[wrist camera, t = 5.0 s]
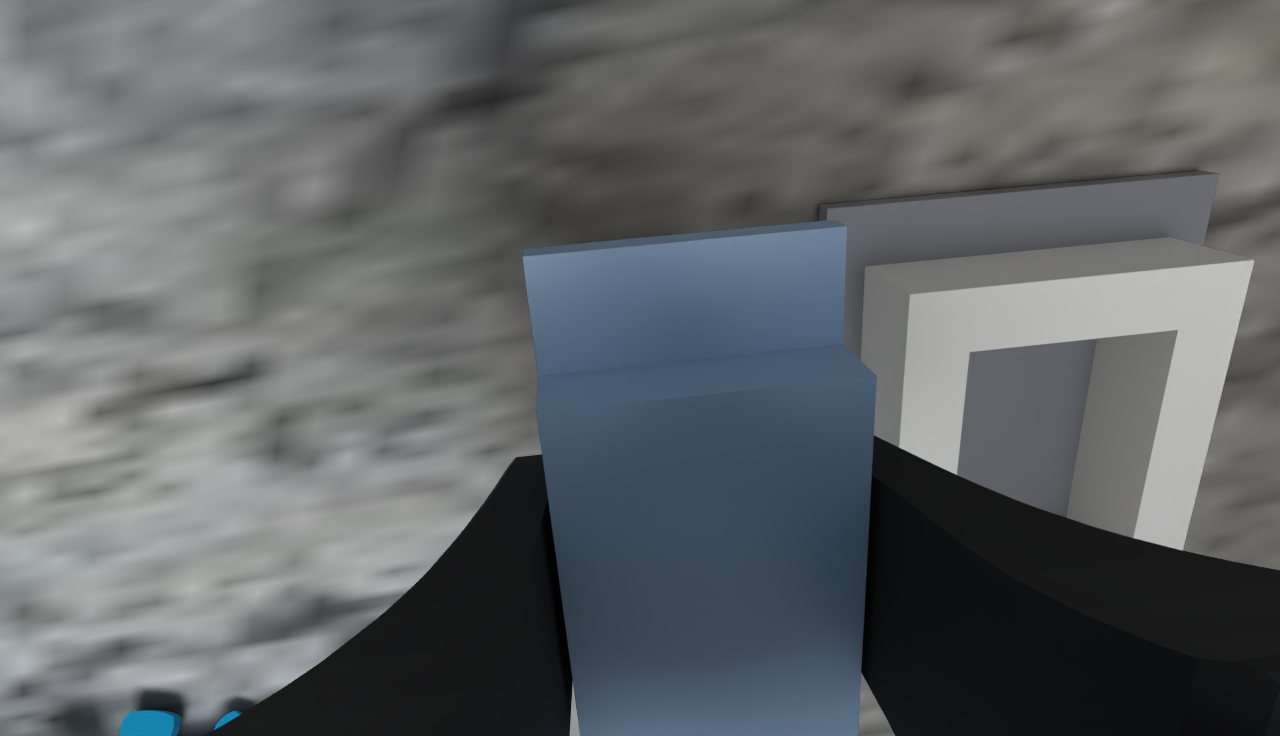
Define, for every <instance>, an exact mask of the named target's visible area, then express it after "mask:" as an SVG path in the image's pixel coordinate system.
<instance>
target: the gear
mask: <svg viewBox="0 0 1280 736" xmlns="http://www.w3.org/2000/svg"><path fill="white" fill-rule="evenodd" d="M242 713H243V712H241V711H239V710H236V711H232V712H230V713H228V714H227V715H225V716H224V717H222V718H221V720H220V721H219V722H218V723H217V724H216V726H215V728H214V730H215V729H217V728H219V727H220V726H222V725H224V724H226V723H227V722H229V721H231V720H232V719H234V718H236V717H237V716H239V715H241V714H242ZM180 727H181V716H180V715H178V714H176V713H173V712H169V711H164V710H140V711H131V712H130V713H129V714H128V715H127V716H126V717H125V719H124V721H123V722H122V725H121V728H120V736H177V734H178V733H179V730H180Z"/></svg>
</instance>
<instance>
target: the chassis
mask: <svg viewBox="0 0 1280 736" xmlns="http://www.w3.org/2000/svg"><path fill="white" fill-rule="evenodd" d="M1218 176H1219V174H1218V173H1212V172H1205V171H1190V172H1179V173H1168V174H1157V175H1146V176H1134V177H1123V178H1112V179H1101V180H1090V181H1079V182H1067V183H1056V184H1045V185H1034V186H1023V187H1012V188H1001V189H989V190H978V191H967V192H956V193H945V194H934V195H923V196H911V197H900V198H889V199H878V200H867V201H856V202H844V203H833V204H822V205H819V221H826V220H836V221H838V222H840V223H842V224H844V225H846V226H847V241H846V270H845V299H844V329H843V345H845V346H846V347H847V348H848V349H849V350H850V351H851V352H852V353H853V354H854V355H855V356H856V357H857V358H858V359H860V360H861V361H862V362H863V363H864V364H865V365H866V366H867V367H868V368H869V369H870V370H871V371H872V372H873V373H874V374H876V375H877V385H876V404H875V422H874V435H875V436H877V437H879V438H881V439H883V440H885V441H887V442H889V443H891V444H893V445H895V446H897V447H899V448H901V449H903V450H905V451H907V452H909V453H912V454H914V455H916V456H918V457H920V458H922V459H924V460H926V461H928V462H930V463H932V464H934V465H936V466H939V467H941V468H943V469H945V470H947V471H949V472H952V473H954V474H956V475H958V476H960V477H963V478H965V479H967V480H969V481H972V482H974V483H976V484H979V485H981V486H984V487H986V488H988V489H991V490H993V491H996V492H998V493H1000V494H1003V495H1005V496H1008V497H1010V498H1013V499H1015V500H1018V501H1020V502H1023V503H1026V504H1028V505H1031V506H1034V507H1036V508H1039V509H1042V510H1045V511H1048V512H1051V513H1054V514H1057V515H1060V516H1063V517H1066V518H1069V519H1072V520H1075V521H1078V522H1081V523H1084V524H1087V525H1090V526H1093V527H1096V528H1100V529H1103V530H1107V531H1110V532H1114V533H1117V534H1120V535H1124V536H1128V537H1132V538H1135V539H1139V540H1143V541H1147V542H1151V543H1155V544H1159V545H1163V546H1167V547H1170V548H1174V549H1178V550H1182V551H1183V548H1184V544H1185V539H1186V535H1187V531H1188V527H1189V523H1190V519H1191V515H1192V511H1193V507H1194V503H1195V499H1196V495H1197V491H1198V487H1199V483H1200V479H1201V475H1202V471H1203V467H1204V463H1205V459H1206V454H1207V450H1208V446H1209V442H1210V438H1211V434H1212V430H1213V426H1214V422H1215V418H1216V414H1217V410H1218V406H1219V402H1220V398H1221V394H1222V390H1223V386H1224V382H1225V378H1226V374H1227V369H1228V365H1229V361H1230V357H1231V353H1232V349H1233V345H1234V341H1235V337H1236V333H1237V329H1238V325H1239V321H1240V317H1241V313H1242V309H1243V305H1244V301H1245V297H1246V293H1247V289H1248V284H1249V280H1250V276H1251V272H1252V268H1253V264H1254V260H1253V259H1249V258H1245V257H1242V256H1238V255H1234V254H1230V253H1227V252H1223V251H1219V250H1215V249H1212V248H1208V247H1204V246H1203V245H1204V240H1205V235H1206V231H1207V226H1208V222H1209V217H1210V213H1211V208H1212V203H1213V199H1214V194H1215V190H1216V185H1217V181H1218Z"/></svg>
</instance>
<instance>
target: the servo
mask: <svg viewBox="0 0 1280 736" xmlns="http://www.w3.org/2000/svg"><path fill="white" fill-rule="evenodd" d="M846 241H847V226H846V225H844V224H842V223H840V222H838V221H836V220H826V221H815V222H804V223H793V224H783V225H772V226H761V227H750V228H740V229H729V230H718V231H708V232H697V233H686V234H675V235H665V236H654V237H643V238H633V239H622V240H611V241H600V242H590V243H579V244H568V245H558V246H547V247H536V248H525V249H524V250H523V256H522V257H523V265H524V272H525V280H526V287H527V295H528V303H529V310H530V318H531V325H532V333H533V341H534V348H535V356H536V363H537V371H538V392H537V420H538V428H539V435H540V443H541V450H542V457H543V465H544V472H545V479H546V487H547V494H548V502H549V509H550V516H551V524H552V531H553V538H554V546H555V553H556V561H557V568H558V575H559V583H560V590H561V597H562V605H563V612H564V620H565V627H566V634H567V642H568V649H569V656H570V664H571V671H572V679H573V686H574V693H575V701H576V708H577V715H578V723H579V730H580V736H858V722H859V703H860V684H861V666H862V647H863V628H864V610H865V591H866V572H867V553H868V535H869V516H870V497H871V478H872V460H873V441H874V422H875V404H876V385H877V375H876V374H874V373H873V372H872V371H871V370H870V369H869V368H868V367H867V366H866V365H865V364H864V363H863V362H862V361H861V360H860V359H858V358H857V357H856V356H855V355H854V354H853V353H852V352H851V351H850V350H849V349H848V348H847V347H846V346H845V345H843V329H844V299H845V270H846Z"/></svg>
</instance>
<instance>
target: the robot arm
mask: <svg viewBox="0 0 1280 736" xmlns="http://www.w3.org/2000/svg"><path fill="white" fill-rule="evenodd" d="M861 673H862V674H863V676H864V678H865V680H866V682H867V683H868V685H869V687H870V689H871V691H872V693H873V694H874V696H875V698H876V700H877V702H878V704H879V705H880V707H881V709H882V711H883V713H884V714H885V716H886V718H887V720H888V722H889V724H890V726H891V728H892V730H893V732H894V734H895V736H1280V570H1275V569H1269V568H1264V567H1258V566H1253V565H1248V564H1242V563H1237V562H1232V561H1227V560H1223V559H1218V558H1214V557H1209V556H1204V555H1200V554H1195V553H1191V552H1186V551H1182V550H1178V549H1174V548H1170V547H1167V546H1163V545H1159V544H1155V543H1151V542H1147V541H1143V540H1139V539H1135V538H1132V537H1128V536H1124V535H1120V534H1117V533H1114V532H1110V531H1107V530H1103V529H1100V528H1096V527H1093V526H1090V525H1087V524H1084V523H1081V522H1078V521H1075V520H1072V519H1069V518H1066V517H1063V516H1060V515H1057V514H1054V513H1051V512H1048V511H1045V510H1042V509H1039V508H1036V507H1034V506H1031V505H1028V504H1026V503H1023V502H1020V501H1018V500H1015V499H1013V498H1010V497H1008V496H1005V495H1003V494H1000V493H998V492H996V491H993V490H991V489H988V488H986V487H984V486H981V485H979V484H976V483H974V482H972V481H969V480H967V479H965V478H963V477H960V476H958V475H956V474H954V473H952V472H949V471H947V470H945V469H943V468H941V467H939V466H936V465H934V464H932V463H930V462H928V461H926V460H924V459H922V458H920V457H918V456H916V455H914V454H912V453H909V452H907V451H905V450H903V449H901V448H899V447H897V446H895V445H893V444H891V443H889V442H887V441H885V440H883V439H881V438H879V437H877V436H875V435H874V441H873V460H872V478H871V497H870V516H869V535H868V553H867V572H866V591H865V610H864V628H863V647H862V666H861ZM572 682H573V679H572V671H571V664H570V656H569V649H568V642H567V634H566V627H565V620H564V612H563V605H562V597H561V590H560V583H559V575H558V568H557V561H556V553H555V546H554V538H553V531H552V524H551V516H550V509H549V502H548V494H547V487H546V479H545V472H544V465H543V457H542V455H533V456H524V457H516V458H515V459H514V460H513V462H512V463H511V464H510V465H509V467H508V468H507V470H506V471H505V473H504V474H503V476H502V477H501V479H500V480H499V482H498V483H497V485H496V486H495V488H494V489H493V491H492V492H491V493H490V495H489V496H488V498H487V499H486V501H485V502H484V503H483V505H482V506H481V507H480V509H479V510H478V511H477V513H476V514H475V515H474V517H473V518H472V519H471V521H470V522H469V523H468V525H467V526H466V527H465V529H464V530H463V531H462V532H461V534H460V535H459V536H458V537H457V539H456V540H455V541H454V542H453V543H452V544H451V546H450V547H449V548H448V549H447V550H446V551H445V552H444V554H443V555H442V556H441V557H440V558H439V559H438V560H437V562H436V563H435V564H434V565H433V566H432V567H431V568H430V570H429V571H428V572H427V573H426V574H425V575H424V576H423V577H422V578H421V579H420V580H419V581H418V582H417V583H416V584H415V585H414V586H413V587H412V588H411V589H410V590H409V591H408V592H406V593H405V594H404V595H403V596H402V597H401V598H400V599H399V600H398V601H397V602H395V603H394V604H393V605H392V606H391V607H390V608H389V609H388V610H387V611H386V612H384V613H383V614H382V615H381V616H380V617H379V618H377V619H376V620H375V621H374V622H372V623H371V624H370V625H368V626H367V627H366V628H365V629H363V630H362V631H361V632H359V633H358V634H357V635H356V636H354V637H353V638H352V639H350V640H349V641H348V642H347V643H345V644H344V645H343V646H341V647H340V648H339V649H338V650H336V651H335V652H334V653H332V654H331V655H330V656H329V657H327V658H326V659H325V660H323V661H322V662H320V663H319V664H318V665H316V666H315V667H313V668H312V669H310V670H309V671H308V672H306V673H305V674H303V675H302V676H300V677H299V678H297V679H296V680H294V681H293V682H291V683H290V684H288V685H287V686H285V687H284V688H282V689H281V690H279V691H278V692H276V693H274V694H273V695H271V696H270V697H268V698H267V699H265V700H263V701H262V702H260V703H259V704H257V705H255V706H254V707H252V708H251V709H249V710H247V711H246V712H244V713H242V714H241V715H239V716H237V717H236V718H234V719H232V720H231V721H229V722H227V723H226V724H224V725H222V726H220V727H219V728H217V729H215V730H213V731H211V732H209V733H208V734H206V735H204V736H569V735H570V717H571V700H572Z"/></svg>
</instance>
